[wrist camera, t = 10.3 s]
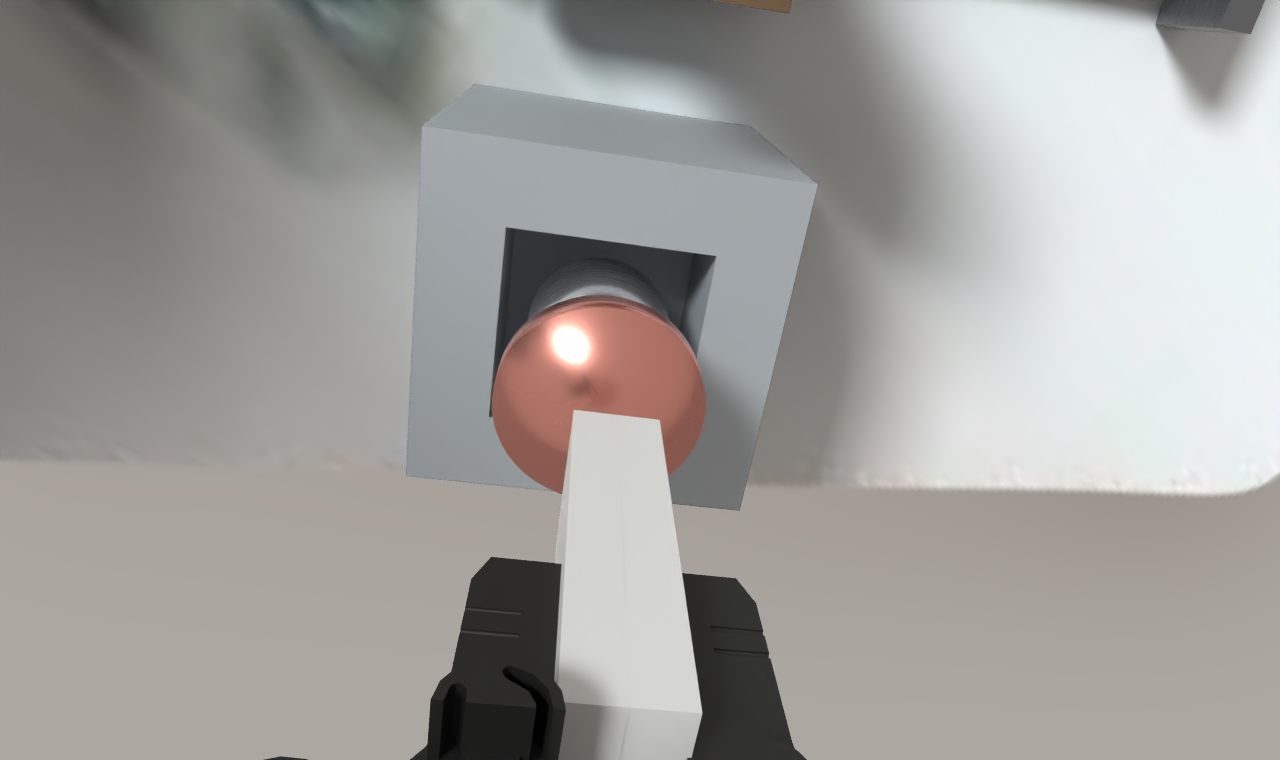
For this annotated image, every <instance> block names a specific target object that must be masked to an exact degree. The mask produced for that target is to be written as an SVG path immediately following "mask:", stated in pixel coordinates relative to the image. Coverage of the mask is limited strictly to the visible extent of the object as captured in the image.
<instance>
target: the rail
mask: <svg viewBox="0 0 1280 760" xmlns="http://www.w3.org/2000/svg"><path fill="white" fill-rule="evenodd" d="M1264 1H1265V0H1165V1H1164V4H1163V6H1162V9H1161V12H1160V14H1159V17H1158V20H1157V22H1156V25H1162V26H1167V27H1173V28H1179V29H1184V30H1199V31H1214V32H1229V33H1243V34H1251V32H1252V30H1253V27H1254V25H1255V22H1256V20H1257V18H1258V15H1259V13H1260V11H1261V8H1262V6H1263V3H1264Z"/></svg>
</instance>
